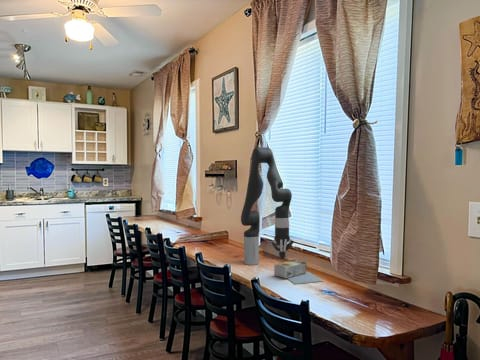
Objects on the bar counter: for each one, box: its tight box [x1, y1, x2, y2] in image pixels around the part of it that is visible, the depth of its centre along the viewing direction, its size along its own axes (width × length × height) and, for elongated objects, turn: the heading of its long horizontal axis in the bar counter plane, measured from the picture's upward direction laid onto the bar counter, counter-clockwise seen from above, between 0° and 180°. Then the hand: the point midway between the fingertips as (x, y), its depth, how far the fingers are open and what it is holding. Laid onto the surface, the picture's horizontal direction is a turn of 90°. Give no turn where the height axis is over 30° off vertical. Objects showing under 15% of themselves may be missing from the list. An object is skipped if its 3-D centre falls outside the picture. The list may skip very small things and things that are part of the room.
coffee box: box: [273, 259, 307, 279], centre depth 202 cm, size 9×6×16 cm
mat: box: [286, 271, 324, 285], centre depth 197 cm, size 18×16×1 cm
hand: (282, 258), depth 194 cm, fingers closed
